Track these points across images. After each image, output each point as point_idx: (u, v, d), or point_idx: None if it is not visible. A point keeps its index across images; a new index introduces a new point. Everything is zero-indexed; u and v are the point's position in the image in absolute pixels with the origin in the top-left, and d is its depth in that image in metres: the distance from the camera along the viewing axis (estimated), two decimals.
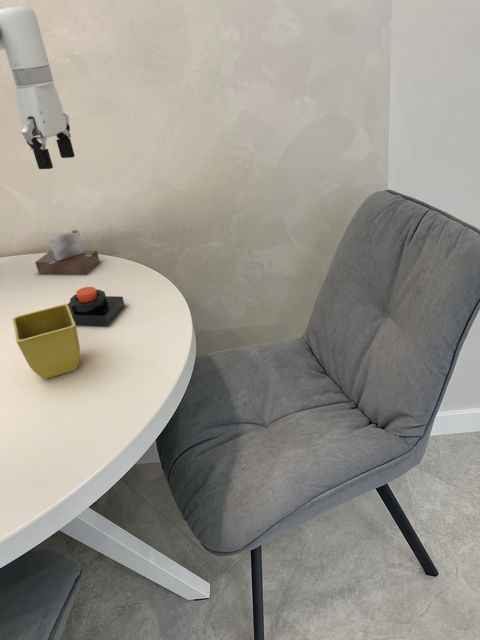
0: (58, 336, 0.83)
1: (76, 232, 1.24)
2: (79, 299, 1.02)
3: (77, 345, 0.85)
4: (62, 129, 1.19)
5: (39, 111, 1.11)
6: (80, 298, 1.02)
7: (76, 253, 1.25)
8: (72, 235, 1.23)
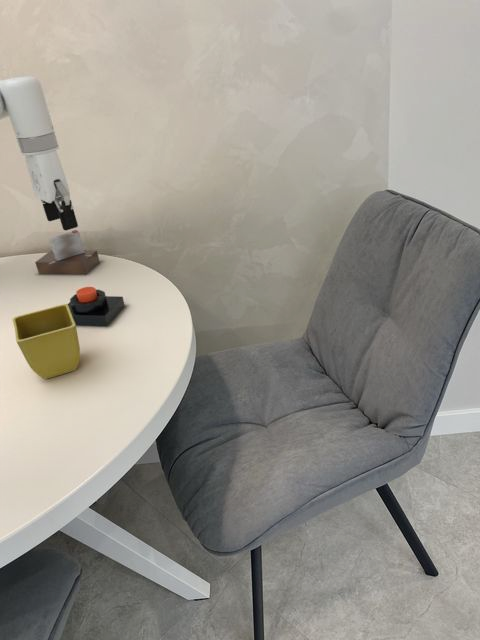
0: (58, 336, 0.83)
1: (76, 232, 1.24)
2: (79, 299, 1.02)
3: (77, 345, 0.85)
4: None
5: (63, 173, 1.13)
6: (80, 298, 1.02)
7: (76, 253, 1.25)
8: (72, 235, 1.23)
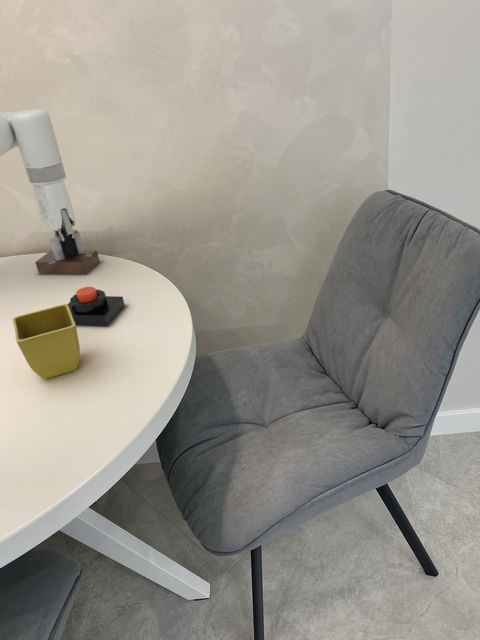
0: (58, 336, 0.83)
1: (76, 232, 1.23)
2: (79, 299, 1.02)
3: (77, 345, 0.85)
4: None
5: (70, 202, 1.17)
6: (80, 298, 1.02)
7: None
8: None
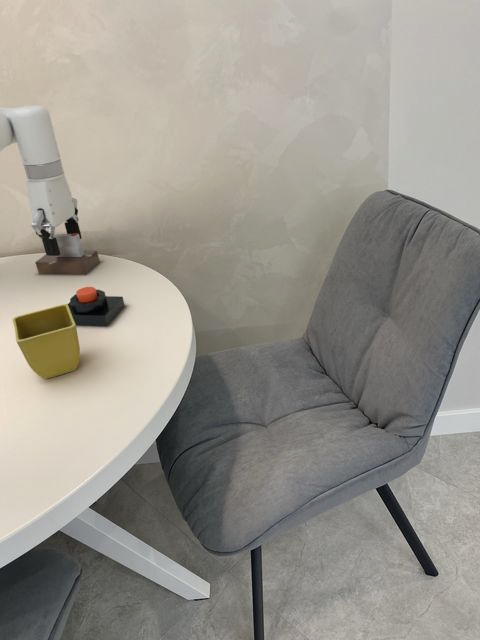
0: (58, 336, 0.83)
1: (73, 236, 1.22)
2: (79, 299, 1.02)
3: (77, 345, 0.85)
4: (70, 215, 1.22)
5: (49, 204, 1.14)
6: (80, 298, 1.02)
7: (73, 255, 1.24)
8: (69, 237, 1.22)
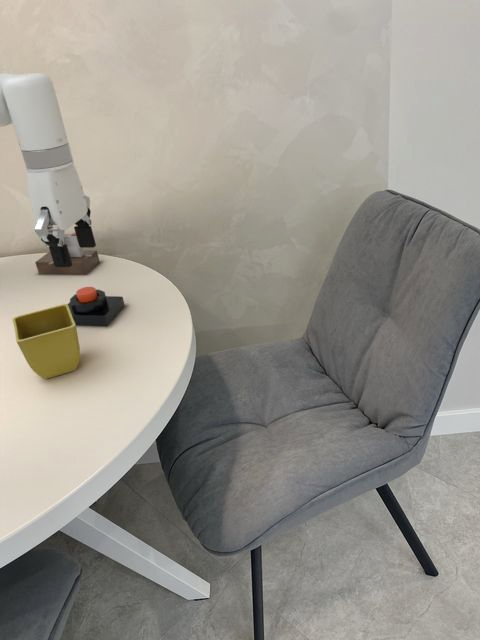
0: (58, 336, 0.83)
1: (73, 236, 1.22)
2: (79, 299, 1.02)
3: (77, 345, 0.85)
4: (82, 215, 0.97)
5: (56, 201, 0.89)
6: (80, 298, 1.02)
7: (73, 255, 1.24)
8: (69, 237, 1.22)
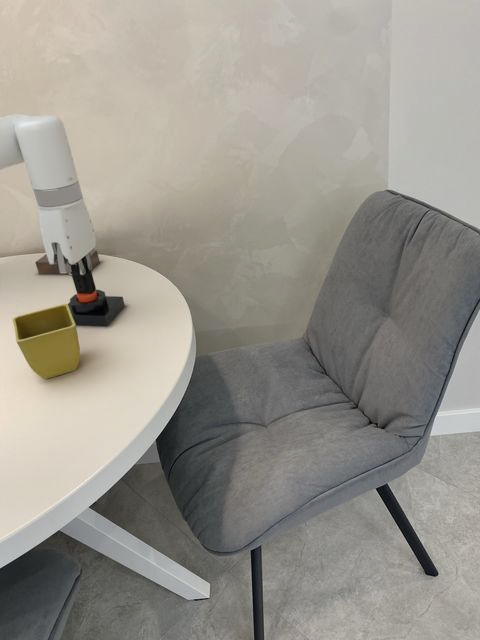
0: (58, 336, 0.83)
1: None
2: (79, 300, 1.02)
3: (77, 345, 0.85)
4: (91, 248, 1.00)
5: (66, 237, 0.92)
6: (81, 299, 1.02)
7: None
8: None
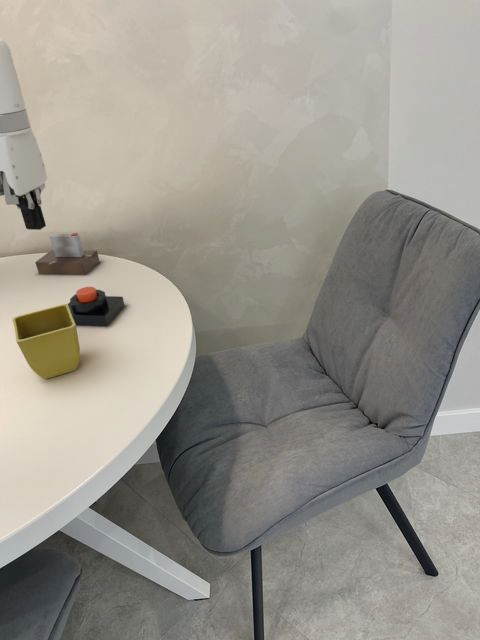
0: (58, 336, 0.83)
1: (73, 236, 1.22)
2: (79, 299, 1.02)
3: (77, 345, 0.85)
4: (41, 182, 0.99)
5: (12, 166, 0.91)
6: (80, 298, 1.02)
7: (73, 255, 1.24)
8: (69, 237, 1.22)
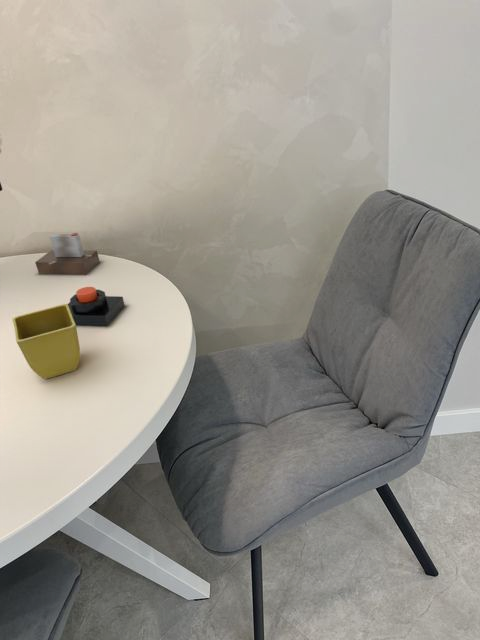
0: (58, 336, 0.83)
1: (73, 236, 1.22)
2: (79, 299, 1.02)
3: (77, 345, 0.85)
4: None
5: None
6: (80, 298, 1.02)
7: (73, 255, 1.24)
8: (69, 237, 1.22)
